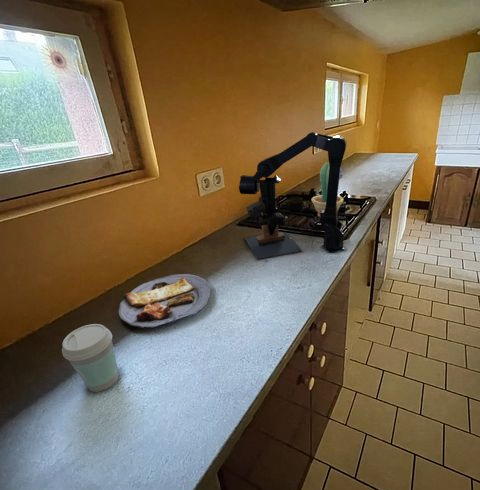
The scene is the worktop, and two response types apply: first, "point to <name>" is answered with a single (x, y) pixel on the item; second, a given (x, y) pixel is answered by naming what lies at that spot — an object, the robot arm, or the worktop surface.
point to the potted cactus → (325, 190)
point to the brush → (269, 236)
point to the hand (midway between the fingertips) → (270, 233)
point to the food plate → (164, 300)
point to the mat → (272, 248)
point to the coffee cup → (92, 356)
